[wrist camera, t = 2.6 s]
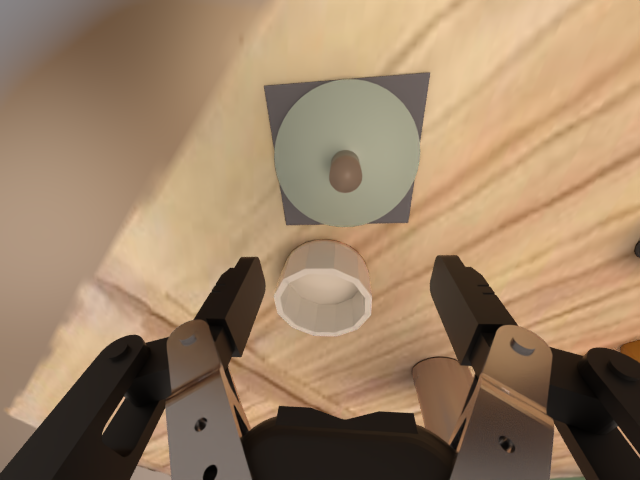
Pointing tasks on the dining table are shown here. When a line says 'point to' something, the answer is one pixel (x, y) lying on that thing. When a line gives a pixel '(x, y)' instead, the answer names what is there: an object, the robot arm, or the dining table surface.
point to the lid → (347, 153)
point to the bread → (632, 350)
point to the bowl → (324, 289)
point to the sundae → (637, 250)
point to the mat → (402, 86)
